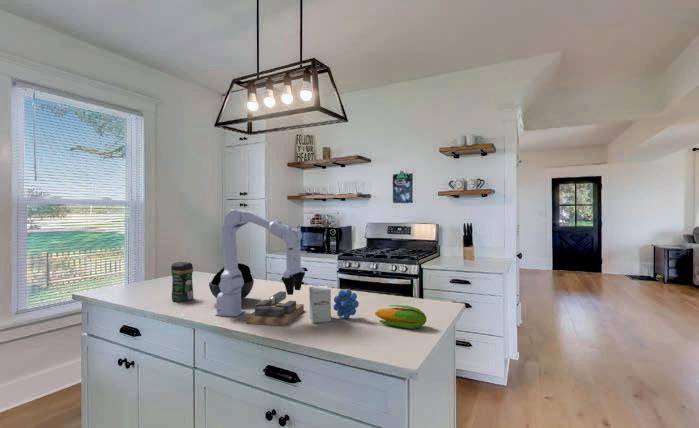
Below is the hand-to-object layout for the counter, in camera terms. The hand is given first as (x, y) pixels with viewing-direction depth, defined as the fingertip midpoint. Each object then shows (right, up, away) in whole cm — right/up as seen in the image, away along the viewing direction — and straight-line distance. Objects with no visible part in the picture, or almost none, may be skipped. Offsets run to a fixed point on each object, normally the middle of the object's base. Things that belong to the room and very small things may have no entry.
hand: (294, 292), depth 139 cm
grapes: (+22, -10, -2) cm, 24 cm away
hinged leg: (-10, -8, +14) cm, 19 cm away
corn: (+41, -10, -12) cm, 44 cm away
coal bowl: (-33, -10, +24) cm, 42 cm away
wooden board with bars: (-7, -10, +2) cm, 13 cm away
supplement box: (+11, -10, -4) cm, 15 cm away
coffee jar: (-59, -11, +30) cm, 67 cm away
